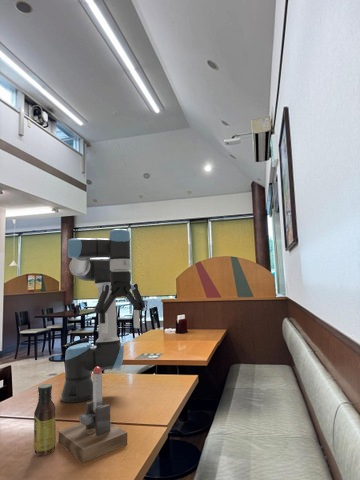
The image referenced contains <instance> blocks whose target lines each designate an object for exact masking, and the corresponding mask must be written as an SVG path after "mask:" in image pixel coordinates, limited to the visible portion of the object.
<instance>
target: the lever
mask: <svg viewBox="0 0 360 480" xmlns="http://www.w3.org/2000/svg"><path fill="white" fill-rule="evenodd" d="M102 371H103V370H101V368H100V367H95V368H94V370H93V372H92V381H93V398H92V401H93V404H92V405H91V411H92V412H94V413H95V408H97V407H100V406H103V372H102ZM92 412H89V413H86V412H85V413H83V414H80V415H79V416H78V418H79V424H81V423H82V424H83V425H88V424H91V423H94V422H96V414H94V413H92Z"/></svg>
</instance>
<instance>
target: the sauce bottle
mask: <svg viewBox="0 0 360 480" xmlns="http://www.w3.org/2000/svg"><path fill="white" fill-rule="evenodd" d="M52 390H53V385H52V384H51V383H43V384H41V385H39V386H38V388H37V392H38V401H37V404H36V407H35V410H34V414H33V421H34V422H33V450H34V454H35V456H37V457H38V456H40V457H43V456H47V455H51V454H52V453H53V452H54V451H55V450H56V443H57V442H56V437H57V436H56V433H57V432H56V431H57V430H56V426H57V425H56V423H57V422H56V419H57V418H56V405H55V403H54V401H53V400H52V398H53V397H52Z"/></svg>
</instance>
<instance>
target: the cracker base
mask: <svg viewBox="0 0 360 480" xmlns="http://www.w3.org/2000/svg"><path fill="white" fill-rule="evenodd" d="M92 404H93V400H90V401H86V402H85V413H89V412H92V411H91V405H92ZM92 413H94V412H92ZM94 414H96V422H94V423H91V424H88V425H83V424H82V423H79V424H75V425H72V426H69V427H67V428H64V429H59V430H58V433H57V434H58V435H57V436H58V438H57V440H58V443H59V445H61V446H62V447H63V448H64V449H66V450H67V451H68V452H69V453H71V454H72V455H73V456H74V457H75V458H77V459H78V460H79V461H80V462H82V463H83V464H85V463H87V462H89V461H92V460H94V459H96V458H98V457H101V456H103V455H106V454H108V453H110V452H112V451H115V450H117V449H119V448H122V447H124V446H126V445H128V443H129V442H128V432H127V431H125V430H123V429H122V428H120V427H118V426H116V425H115V424H112V423H111V405H110V404H102V406H100V407H97V408H95V413H94Z"/></svg>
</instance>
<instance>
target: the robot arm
mask: <svg viewBox="0 0 360 480" xmlns="http://www.w3.org/2000/svg"><path fill="white" fill-rule="evenodd" d="M130 232H131V231H130V230H128V229H127V228H126V229H123V228H115V229H112V230H110V231H109V237H108V238H81V237H80V238H79V237H77V238H69V239H68V240H67V256H68V258H69V259H71V260H70V261H69V265H68V268H69V272H70V274H71V275H72V276H74V278H76V279H78V280H80V281H84V282H94V286H96V288H97V297H98V298H97V303H96V305H95V307H94V311H93V312H94V313H98V338H97V339H96V340H95V345H92V343H91V342H81V343H77V344H74V345H71V346H69V347H68V348H67V349H66V350H65V353H64V354H65V358H64V360H65V364H64V365H65V368H64V369H65V370H64V374H65V375H64V378H65V379H64V384H63V386H62V390H61V393H60V401H61V402H64V403H73V404H74V403H82V402H87V401H89V400H91V399H93V377H92V373H93V370H94V368H95V367H100V368H101V370H102V371H107V370H108V371H109V370H110V371H111V370H112V371H113V370H115V369H119V368H121V367H122V365H123V361H124V354H125V349H124V347H125V345H124V343H123V342H122V341H121V339H120V338H119V336H118V334H117V333H118V331H117V330H118V329H117V303H116V300H117V299H116V298H121V297H125V298H126V299H127V300H128V301H129V303H130V304H131V306H132V307H133V308H134V309H133V328H134V329H141V327H140V326H141V325H140V324H141V322H140V321H141V320H140V319H141V318H142V313H141V311H142V310H143V309H144V308H146V305H145V302H144V299H143V297H142V295H141V293H140V290H139V286H138V283H132V284H131V281H132V272H131V271H130V270H131V235H130Z"/></svg>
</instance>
